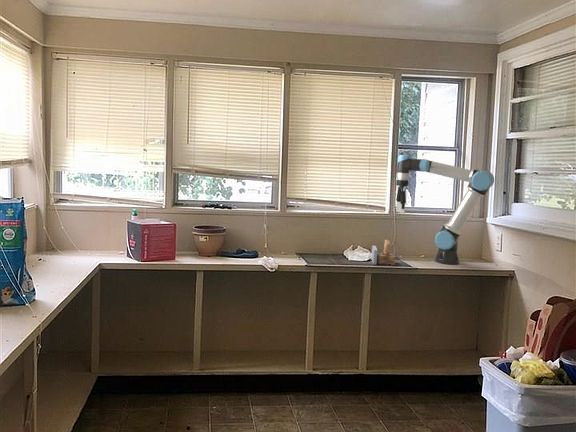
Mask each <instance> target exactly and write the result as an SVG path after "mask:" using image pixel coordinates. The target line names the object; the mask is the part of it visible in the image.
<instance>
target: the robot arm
mask: <svg viewBox="0 0 576 432" xmlns="http://www.w3.org/2000/svg"><path fill="white" fill-rule="evenodd" d="M396 167H397V169H396V174H395V176H396V183H395V185H396V186H397V192H396V198H395V199H396V208H395V212H397V213H399V214H400V215H405V214H406V213H405V212H406V210H405V209H406V204H407V197H406V196H407V187H408V186H409V178H410V171H411V172H412V171H414V172H421V173H423V172H425V173H430V174H433V175H439V176H442V177H446V178H451V179H454V180H459V181H462V182H467V183H468V185H467V191H466V193H465V194H464V196H463V198H462V199H461V201H460V203H458V206H457V207H456V209H455V211H454V212H453V214H452V216H451V217H450V219H449V220H448V222H447V223H444V224H443V225H442V226H440V229H439V232H438V233H436V235H435V238H434V242H435V243H434V244H435V245H436V246H437V247H438V250H437V252H436V253H435V256H434V262H436V263H437V264H438V263H439V264H444V265H458V264H459V265H460V263H459V262H460V259H459V254H458V246H459V238H460V236H461V229H462V228H463V226H464V225H465V223H466V221H467V220H468V218H469V217H470V215H471V213H472V212H473V211H474V209H475V207H476V206H477V204H478V202H479V201H480V200H481V198H484V197H485V196H486V195H487V193H488V192H489V190H490V188H492V187H493V186H494V183H495V177H494V174H493V173H492V172H491V171H489V170H485V169H484V170H483V169H482V170H480V169H467V168H463V167H459V166H455V165H451V164H446V163H442V162H438V161H433V160H429V159H425V158H411V155H406V154H400V155H398V158H397V166H396Z"/></svg>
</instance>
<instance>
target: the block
mask: <svg viewBox="0 0 576 432" xmlns="http://www.w3.org/2000/svg"><path fill="white" fill-rule="evenodd" d="M377 264H380V265H388V264H391V266H395V265H396V256H395V254H394V253H389V256H387V255H384V252H377Z"/></svg>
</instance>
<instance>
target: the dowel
mask: <svg viewBox="0 0 576 432" xmlns="http://www.w3.org/2000/svg"><path fill="white" fill-rule="evenodd" d="M390 247H391V240H390V239H384V246H383V253H384V255H387V256H389V254H390Z"/></svg>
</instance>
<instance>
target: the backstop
mask: <svg viewBox="0 0 576 432" xmlns="http://www.w3.org/2000/svg"><path fill="white" fill-rule="evenodd" d="M378 251H379V250H378V248H377V246H376V245H371V254H370V261H371V260H372V261H371V263H372V265H373V264H375V266H376V265H377V264H378V262H377V253H379V252H378Z"/></svg>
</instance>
